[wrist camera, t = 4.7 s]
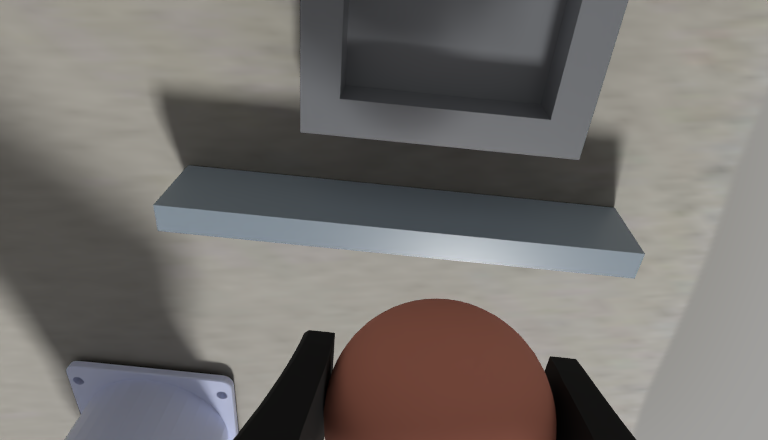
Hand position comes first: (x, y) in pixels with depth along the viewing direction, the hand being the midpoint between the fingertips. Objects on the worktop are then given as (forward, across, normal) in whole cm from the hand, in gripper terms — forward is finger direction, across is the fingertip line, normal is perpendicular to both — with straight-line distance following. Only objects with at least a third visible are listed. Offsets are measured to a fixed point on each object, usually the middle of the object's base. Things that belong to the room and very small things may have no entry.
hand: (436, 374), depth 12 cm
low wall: (+8, +1, 0) cm, 9 cm away
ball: (-1, 0, 0) cm, 1 cm away
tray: (+8, 0, -7) cm, 11 cm away
